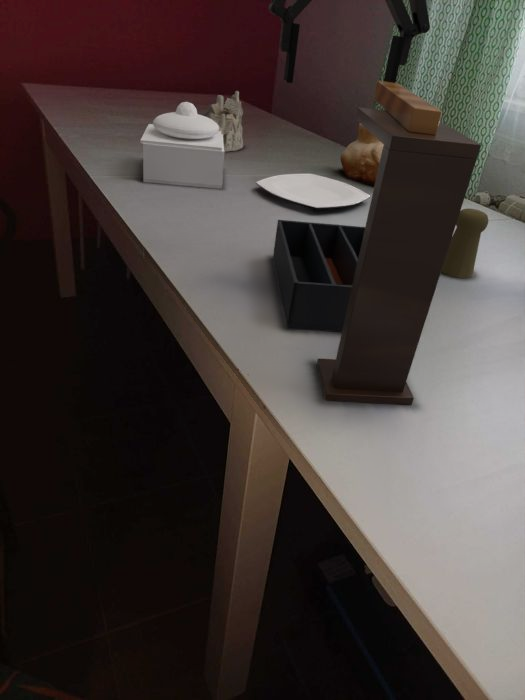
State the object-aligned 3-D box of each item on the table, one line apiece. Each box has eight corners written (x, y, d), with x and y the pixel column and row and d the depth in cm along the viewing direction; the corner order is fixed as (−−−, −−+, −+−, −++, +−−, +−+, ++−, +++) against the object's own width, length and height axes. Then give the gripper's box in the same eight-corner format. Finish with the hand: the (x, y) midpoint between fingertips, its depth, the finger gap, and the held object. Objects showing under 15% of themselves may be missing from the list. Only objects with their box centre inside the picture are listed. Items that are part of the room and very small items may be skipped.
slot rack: (272, 258, 92) (277, 219, 88) (361, 264, 93) (369, 227, 90) (287, 328, 72) (294, 282, 68) (398, 335, 74) (410, 291, 70)
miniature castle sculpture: (213, 134, 167) (215, 82, 158) (253, 149, 159) (258, 94, 150) (176, 143, 156) (176, 87, 147) (217, 159, 149) (220, 101, 140)
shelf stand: (307, 330, 72) (348, 106, 57) (379, 335, 73) (438, 116, 58) (325, 400, 60) (384, 136, 45) (411, 404, 61) (497, 148, 46)
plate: (241, 188, 123) (242, 180, 122) (309, 178, 138) (310, 170, 137) (315, 221, 110) (316, 211, 109) (381, 205, 124) (383, 197, 123)
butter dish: (222, 188, 121) (227, 113, 113) (140, 181, 119) (139, 104, 111) (221, 168, 136) (225, 100, 128) (148, 161, 134) (148, 91, 125)
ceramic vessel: (414, 200, 131) (431, 136, 122) (327, 172, 144) (337, 112, 136) (439, 192, 140) (456, 131, 132) (355, 166, 153) (366, 110, 145)
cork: (441, 260, 99) (459, 202, 93) (474, 269, 97) (495, 210, 91) (435, 271, 94) (454, 210, 89) (470, 281, 93) (492, 219, 87)
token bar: (373, 98, 65) (377, 80, 63) (394, 101, 65) (398, 83, 64) (408, 132, 48) (414, 107, 47) (436, 135, 48) (442, 111, 47)
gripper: (463, -101, 65) (417, 92, 76) (258, -136, 61) (242, 73, 72) (492, -111, 59) (437, 101, 70) (267, -150, 55) (247, 80, 66)
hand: (338, 87), depth 71 cm, fingers open, 13 cm apart
